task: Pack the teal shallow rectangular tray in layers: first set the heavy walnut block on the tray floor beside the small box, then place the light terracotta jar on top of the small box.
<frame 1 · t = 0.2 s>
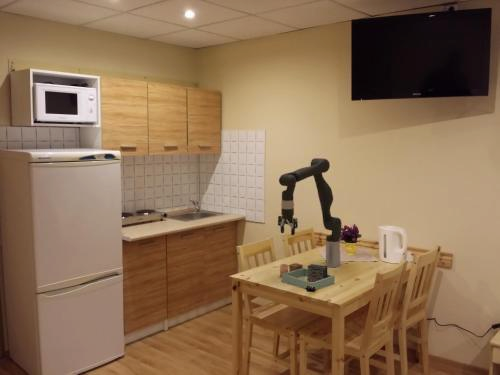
hand: (287, 233, 281), 28 cm above the table, tool pointing down, fingers open, 8 cm apart
jar: (284, 276, 289), on the table
small box: (317, 283, 276), resting in teal shallow rectangular tray
teal shallow rectangular tray: (307, 282, 277), on the table
block: (296, 273, 295), on the table
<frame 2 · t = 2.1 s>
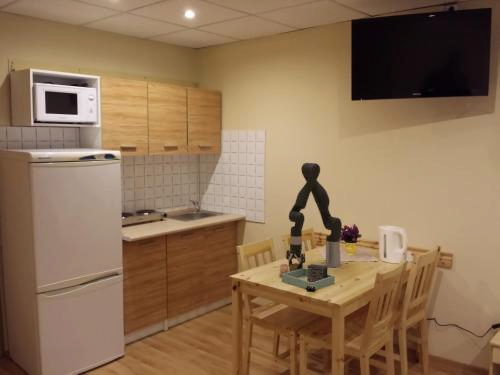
hand: (295, 267, 294), 4 cm above the table, tool pointing down, fingers open, 8 cm apart
nothing on the table moved.
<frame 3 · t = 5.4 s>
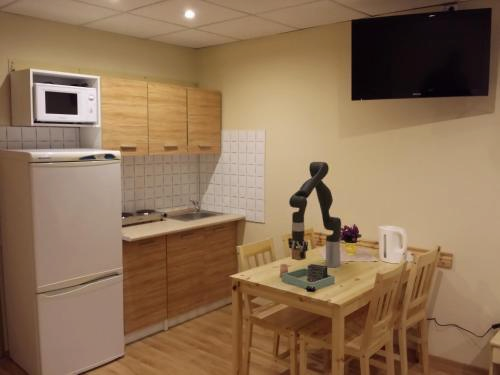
hand: (298, 256, 277), 15 cm above the table, tool pointing down, fingers closed on block, 6 cm apart
block: (298, 258, 277), point 14 cm above the table, touching gripper
everything else where it was.
when the fingers open (2 cm above the table, at t = 8.3 s): block drops 1 cm, resting in teal shallow rectangular tray.
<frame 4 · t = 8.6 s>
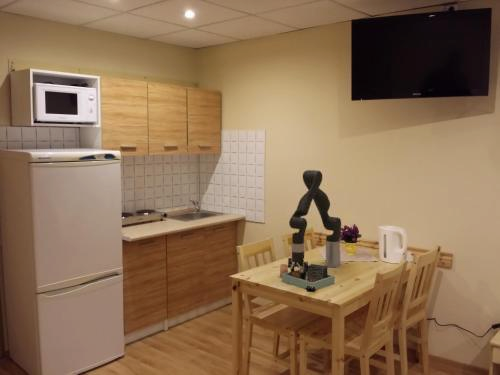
hand: (297, 276, 278), 3 cm above the table, tool pointing down, fingers open, 8 cm apart
block: (298, 281, 279), resting in teal shallow rectangular tray
everything else where it was.
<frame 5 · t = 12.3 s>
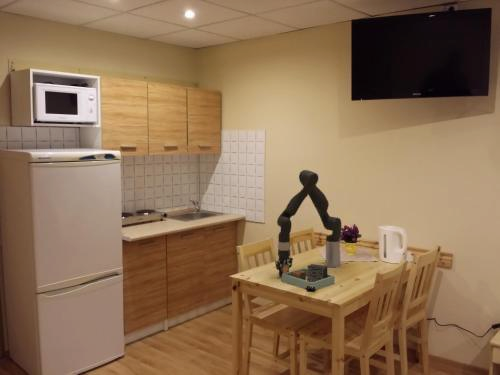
hand: (284, 275, 289), 1 cm above the table, tool pointing down, fingers closed on jar, 4 cm apart
jar: (283, 276, 289), on the table, touching gripper
everything else where it was.
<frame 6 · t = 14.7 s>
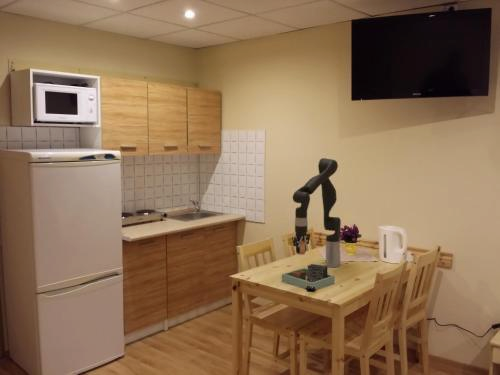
hand: (301, 252, 281), 17 cm above the table, tool pointing down, fingers closed on jar, 4 cm apart
jar: (300, 253, 281), point 16 cm above the table, touching gripper
everything else where it was.
when the fingers open (12 cm above the table, at t = 17.1 s): jar stays where it is, resting on small box.
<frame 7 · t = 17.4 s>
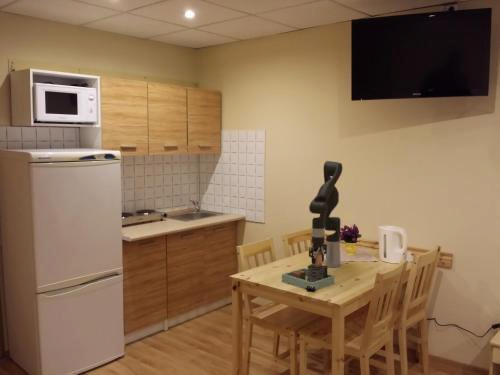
hand: (317, 262, 275), 12 cm above the table, tool pointing down, fingers open, 7 cm apart
jar: (317, 265, 275), point 10 cm above the table, touching small box
small box: (317, 283, 276), resting in teal shallow rectangular tray, touching jar
everything else where it was.
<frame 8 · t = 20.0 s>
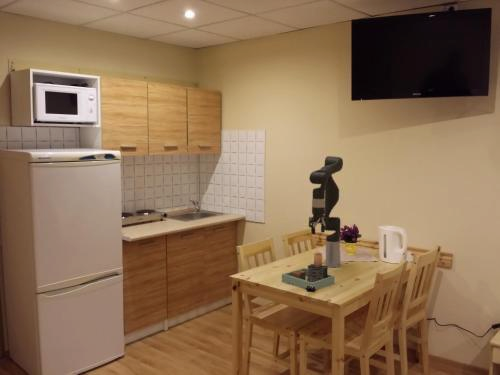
hand: (318, 233, 273), 30 cm above the table, tool pointing down, fingers open, 8 cm apart
nothing on the table moved.
at the end: jar inside the target area on the small box (0.0 cm from its centre), point 10.8 cm above the small box's base; jar tilted 2°; block inside the target area (5.9 cm from its centre), resting in teal shallow rectangular tray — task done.
